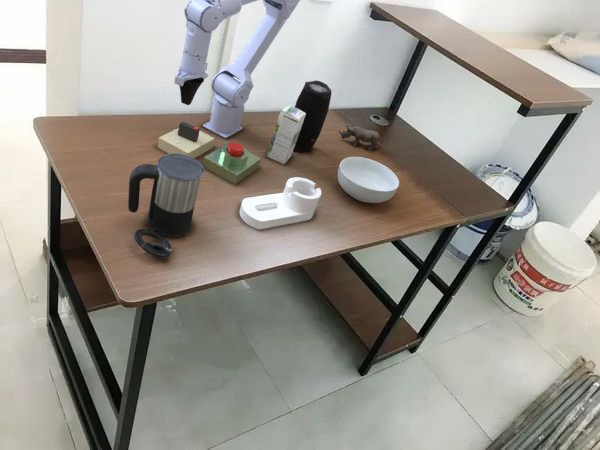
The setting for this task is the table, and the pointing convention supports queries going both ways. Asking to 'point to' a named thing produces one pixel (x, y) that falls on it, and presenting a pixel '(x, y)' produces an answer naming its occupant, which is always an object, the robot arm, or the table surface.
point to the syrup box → (286, 134)
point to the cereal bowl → (367, 180)
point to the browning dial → (188, 131)
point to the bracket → (282, 205)
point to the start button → (235, 149)
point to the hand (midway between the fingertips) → (185, 103)
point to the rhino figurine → (361, 136)
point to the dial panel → (185, 144)
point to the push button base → (231, 164)
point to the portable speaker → (312, 113)
